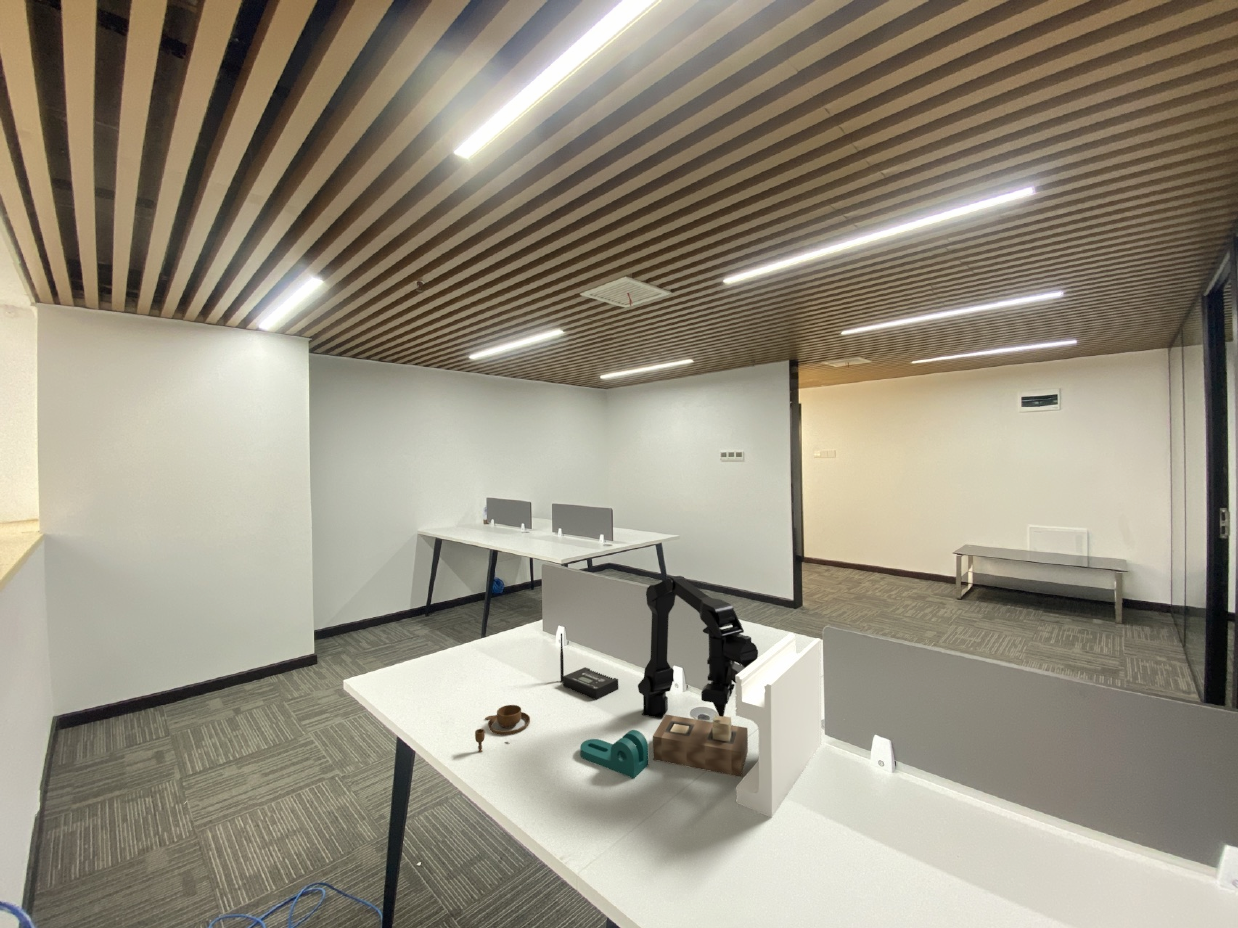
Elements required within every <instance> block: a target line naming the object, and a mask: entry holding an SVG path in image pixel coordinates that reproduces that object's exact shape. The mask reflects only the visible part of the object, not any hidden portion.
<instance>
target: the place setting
mask: <svg viewBox="0 0 1238 928" xmlns="http://www.w3.org/2000/svg"><path fill="white" fill-rule="evenodd" d="M484 719H485V720H487V721H488V723H487V726H488V729H489V731H490V732H491V733H493V734H495V735H499V736H510V735H511V736H512V735H515V734H518V733H520V732H522V731H524V730H526V729H527V728H528V727H529V725H530V723H531V717H530V715H529V714H528V713H526V712H523V711H522V707H521V706H519V705H517V704H506V705H503V706H501V707H499V708H498V709H497V711H496V714H495V715H493V714H492V715H488V716H486V717H485V718H484ZM521 719H523V720H525V722H526V724H524V725H522V726H521V727H519V728H516V729H511V730H499V729H498V730H497V729H494V728H492V727H493V725H494V724H495V723H496V722H497V723H498V724H499V725H500V726H502V727H503V728H505V729H510V728H514V727H515V726H516V725H518V723H520V721H521ZM485 735H486V733H485V729H484V728H477V729H476V730H475V731H474V737H475V742H476V743H477V744H478V746H477V749H478V751H477V753H479V754H481V753H482V752H483V750H482V749H483V745H482V742H484V741H485V737H486V736H485ZM505 744H506V745H510V742H509V741H505Z"/></svg>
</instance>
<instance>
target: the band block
mask: <svg viewBox="0 0 1238 928" xmlns="http://www.w3.org/2000/svg"><path fill="white" fill-rule="evenodd" d="M712 722H713V721H708V720H704V719H703V720H701V719H696V718H689V717H683V716H677V715H672V714H665V715H664V716H663V718H662V720H661V722H659V725H658V726H657V729H656V730H655V731H654V733H653V734H652V760H653V761H656V762H662V763H668V764H673V765H677V766H678V765H679V766H683V767H688V768H693V769H697V770H703V771H707V772H713V773H718V774H724V775H727V776H732V777H733V776H734V777H736V778H737V777H738V778H743V777H742V776H743V773H744V770H745V769H744V768H745V765H746V760H747V757H748V753H749V742H748V741H749V740H748V736H749V735H748V730H749V729H748V727H744V726H739V725H732V724H731V737H732V738H731V741H730V742H727V741H721V740H715V739H713V725H712ZM674 724H678V725H684V726H689V731H688V733H687V734H681V733H676V732H670V731H671V729H672V727H673V725H674Z"/></svg>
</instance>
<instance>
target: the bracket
mask: <svg viewBox="0 0 1238 928" xmlns="http://www.w3.org/2000/svg"><path fill="white" fill-rule="evenodd" d="M579 748H580V749H579V750H580V757H581V758H582V759H583V760H584V761H588V762H590V763H592V764H595V765H598V766H600V767H602V768H605V769H607V770H610V771H613V772H615V773H618V774H620V775H623V776H625V777H628V778H631V779H634V780H635V778H636V777H638V775H640V774H641V773H642V772H643V771H644V770H645V769H646V768H648V766H649V743H648V740H647V739H646V737H645V735H644V734H643V733H642V732H640V731H639V730H636V729H630V730H629V731H628V732H627V733H625V734H624V735H622V737H621V738H619V739H618V740H617V741H615V742H614V743H611V742H607V741H604V740H603V739H598V738H591V739H587V740H584V741H583V742H582V743H580V746H579Z"/></svg>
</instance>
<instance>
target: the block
mask: <svg viewBox="0 0 1238 928" xmlns="http://www.w3.org/2000/svg"><path fill="white" fill-rule="evenodd" d="M796 639H797V638H796V635H795V633H792V632H789V633H788V634H787V635H786V636H785V637H783V638H782V639H780V640H779V641H778V642H777V643H775V644H774V645H773V646H772V647H770V648H769V649H768V650H767V651H765V652H764V653H762V654H761V655H760V656H758V657H757V659H756V660H755V661H754V662H752V663H751V664H750V665H748V666H747V667H746V668H745V669H743V670H742V671H741V672H739V673H738V674H737V675H736V676H735V681H736V682H737V683H735V684H734V685H735V686H734V688H735V689H734V690H735V695H736V696H735V708H736V709H735V716H737V717H739V718H743V719H747V720H750V721H752V722H753V723H754V724H755V725H756V727H757V728H758V760H757V761H756V763H755V764H754V765H753V766H752V768H751V769H749V771H748V772H747V773H746V775H745V776H744V777H742V780H741V781H740V782H739V783H738V784H737V785H736V788H735V790H736V793H735V797H736V800H735V801H736V803H737V804H739V805H741V806H744V807H745V808H748V809H750V810H753V811H755V812H758V813H760V814H762V815H765V816H767V817H769V818H774V816H775V815H776V813H777V811H778V810H779V808H780V807H781V805H782V803H784V801H785V799H786V797H787V796H788V795H789V794H790V792H791V790H793V787H794V786H795V784H796V783H797V781H798V780H799V778H800V777H801V775H802V774H803V773H804V771H805V770H806V768H807V766H809V763H810V762H811V760H812V759H813V758H814V756H815V754H816V753H817V751H818V750H819V748H820V747H821V746H822V668H821V667H822V665H821V664H822V663H821V662H822V660H821V659H822V654H821V653H822V651H821V649H822V647H821V646H822V645H821V640H822V639H821V638H817V637H816V638H815V639H814V640H813V641H811V642H810V643H809V644H808V645H807V646H806V647H805V648H804V649H803V650H802V651H801V652H800V653H797V651H796V650H797V648H796V645H797V643H796V642H797V640H796Z"/></svg>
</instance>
